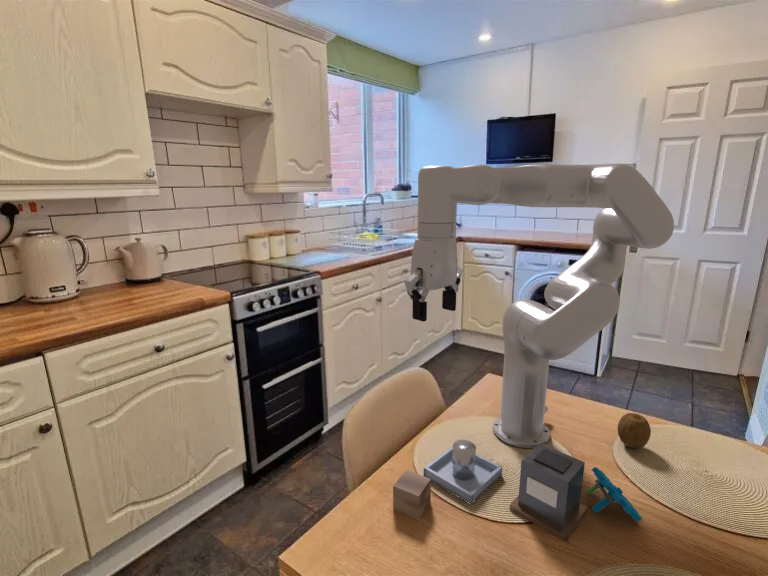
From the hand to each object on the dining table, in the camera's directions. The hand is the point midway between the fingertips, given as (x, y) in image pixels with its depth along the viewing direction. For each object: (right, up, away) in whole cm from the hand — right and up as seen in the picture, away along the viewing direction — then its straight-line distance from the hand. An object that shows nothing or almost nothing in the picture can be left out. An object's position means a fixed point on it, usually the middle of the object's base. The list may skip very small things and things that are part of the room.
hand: (434, 314), depth 86 cm
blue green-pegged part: (+30, -34, -12) cm, 47 cm away
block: (-5, -34, -11) cm, 36 cm away
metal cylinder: (+5, -31, -3) cm, 32 cm away
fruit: (+44, -30, +6) cm, 53 cm away
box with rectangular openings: (+19, -34, -12) cm, 41 cm away
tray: (+5, -32, -3) cm, 32 cm away
